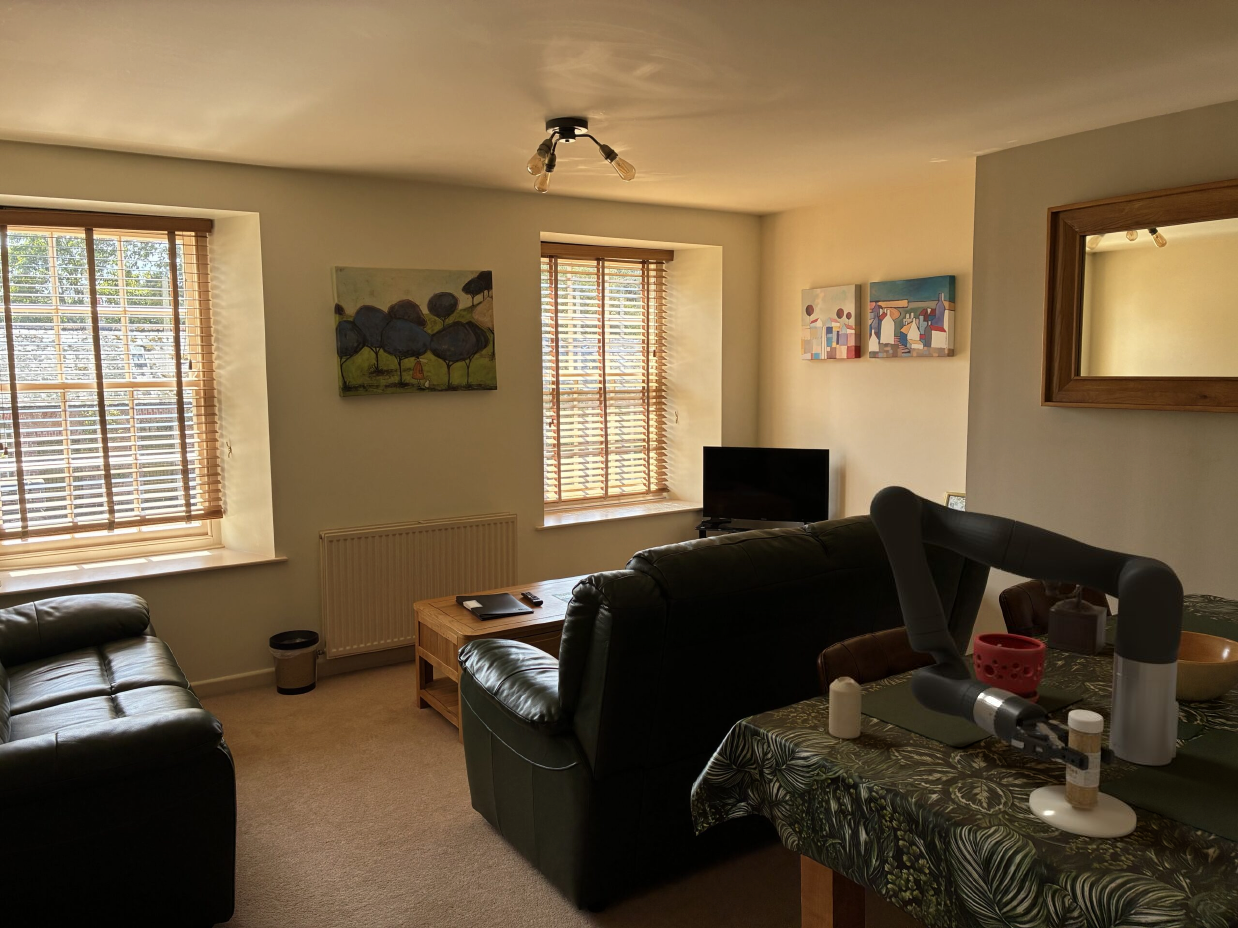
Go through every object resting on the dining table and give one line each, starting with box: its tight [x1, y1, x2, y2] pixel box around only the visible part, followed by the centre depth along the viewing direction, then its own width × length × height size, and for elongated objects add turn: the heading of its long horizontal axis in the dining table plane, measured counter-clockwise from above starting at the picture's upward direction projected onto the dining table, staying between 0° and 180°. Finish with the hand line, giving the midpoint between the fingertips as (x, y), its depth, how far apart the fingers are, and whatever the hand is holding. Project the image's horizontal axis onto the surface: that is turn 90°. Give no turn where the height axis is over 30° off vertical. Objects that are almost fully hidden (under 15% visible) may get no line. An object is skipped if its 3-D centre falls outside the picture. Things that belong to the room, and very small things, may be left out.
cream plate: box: [1028, 784, 1137, 839], centre depth 134 cm, size 14×14×1 cm
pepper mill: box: [1042, 581, 1108, 657], centre depth 212 cm, size 16×11×18 cm
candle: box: [828, 676, 862, 740], centre depth 164 cm, size 6×6×10 cm
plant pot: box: [972, 632, 1047, 703], centre depth 181 cm, size 13×13×12 cm
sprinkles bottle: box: [1064, 709, 1104, 808], centre depth 134 cm, size 5×5×13 cm
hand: (1099, 760), depth 131 cm, fingers closed on sprinkles bottle, 4 cm apart
